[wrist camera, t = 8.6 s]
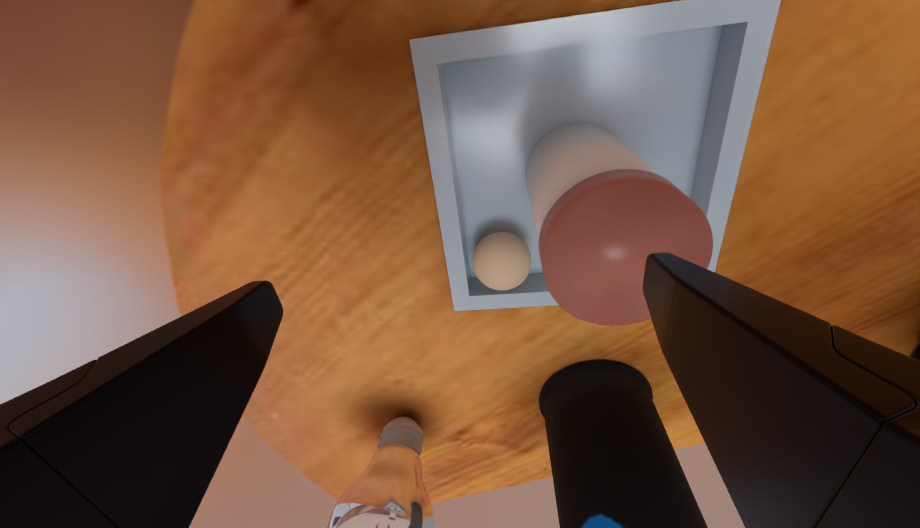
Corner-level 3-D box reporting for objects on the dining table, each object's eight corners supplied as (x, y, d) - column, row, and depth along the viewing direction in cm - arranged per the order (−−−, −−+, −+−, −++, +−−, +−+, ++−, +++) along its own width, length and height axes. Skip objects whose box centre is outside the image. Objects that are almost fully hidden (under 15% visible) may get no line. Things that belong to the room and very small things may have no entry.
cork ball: (528, 219, 22) (532, 247, 19) (530, 268, 24) (534, 300, 21) (470, 224, 22) (467, 252, 20) (476, 271, 24) (474, 303, 21)
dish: (747, -10, 16) (784, -15, 14) (689, 272, 24) (708, 297, 22) (418, 37, 18) (408, 39, 16) (457, 286, 25) (454, 311, 23)
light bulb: (354, 429, 34) (295, 604, 24) (378, 379, 31) (321, 559, 20) (429, 454, 35) (403, 631, 25) (461, 408, 32) (445, 593, 21)
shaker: (631, 113, 19) (729, 176, 11) (622, 213, 21) (697, 320, 14) (521, 126, 19) (541, 194, 12) (525, 222, 22) (544, 329, 14)
